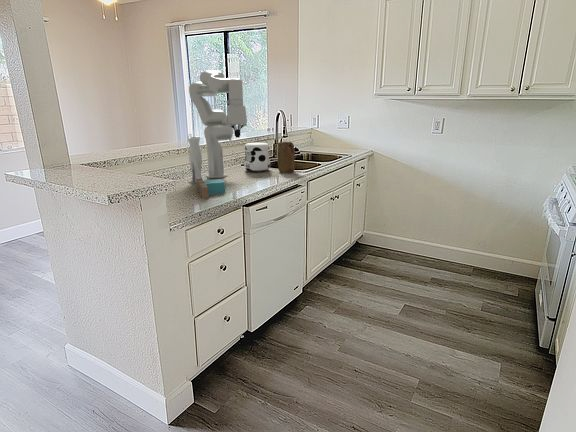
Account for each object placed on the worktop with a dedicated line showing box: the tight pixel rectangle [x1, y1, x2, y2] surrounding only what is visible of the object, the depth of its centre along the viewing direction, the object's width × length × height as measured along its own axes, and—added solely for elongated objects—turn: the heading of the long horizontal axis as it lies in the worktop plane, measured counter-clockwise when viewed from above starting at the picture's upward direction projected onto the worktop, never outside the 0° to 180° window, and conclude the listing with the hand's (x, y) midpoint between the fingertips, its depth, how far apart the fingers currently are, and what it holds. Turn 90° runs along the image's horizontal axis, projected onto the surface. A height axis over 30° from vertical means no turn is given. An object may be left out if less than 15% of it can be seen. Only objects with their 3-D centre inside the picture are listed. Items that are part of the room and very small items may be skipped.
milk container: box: [244, 142, 271, 173], centre depth 255 cm, size 17×17×18 cm
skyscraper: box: [187, 133, 204, 185], centre depth 221 cm, size 8×8×28 cm
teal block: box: [203, 178, 226, 195], centre depth 203 cm, size 8×10×6 cm
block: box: [277, 141, 296, 174], centre depth 250 cm, size 11×8×20 cm
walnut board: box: [196, 178, 210, 200], centre depth 199 cm, size 20×3×6 cm, turn 21°
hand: (237, 137), depth 210 cm, fingers closed
